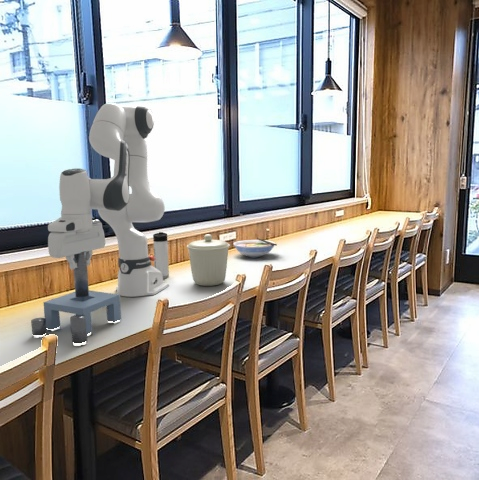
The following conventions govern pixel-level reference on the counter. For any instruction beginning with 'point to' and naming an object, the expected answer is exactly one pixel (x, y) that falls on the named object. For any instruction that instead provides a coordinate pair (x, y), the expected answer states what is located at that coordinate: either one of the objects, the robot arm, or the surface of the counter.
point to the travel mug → (161, 253)
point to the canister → (208, 260)
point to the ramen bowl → (254, 247)
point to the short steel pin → (38, 326)
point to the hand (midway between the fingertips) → (80, 267)
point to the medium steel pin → (78, 328)
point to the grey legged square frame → (82, 307)
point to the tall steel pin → (81, 275)
